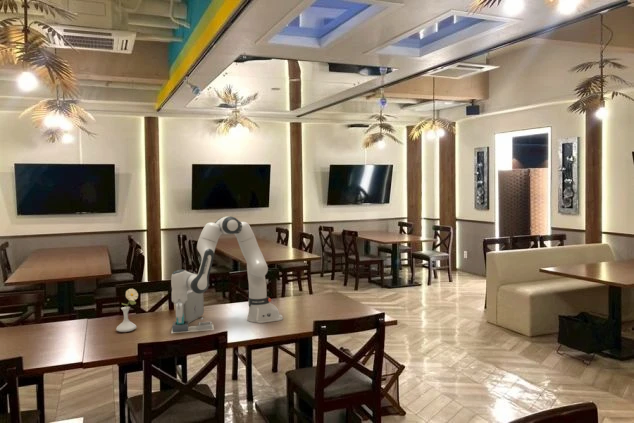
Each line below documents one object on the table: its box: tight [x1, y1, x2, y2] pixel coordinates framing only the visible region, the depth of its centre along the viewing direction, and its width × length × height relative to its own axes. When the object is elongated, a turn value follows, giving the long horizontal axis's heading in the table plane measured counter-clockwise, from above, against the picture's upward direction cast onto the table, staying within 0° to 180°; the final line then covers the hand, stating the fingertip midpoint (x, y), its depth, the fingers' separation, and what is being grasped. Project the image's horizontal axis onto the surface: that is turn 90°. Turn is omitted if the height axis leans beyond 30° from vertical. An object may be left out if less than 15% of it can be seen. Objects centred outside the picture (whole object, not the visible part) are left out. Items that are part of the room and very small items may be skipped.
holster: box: [197, 321, 213, 331], centre depth 290 cm, size 8×8×2 cm
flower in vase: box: [115, 288, 139, 333], centre depth 292 cm, size 13×11×25 cm
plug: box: [175, 313, 184, 325], centre depth 287 cm, size 4×4×8 cm
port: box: [171, 321, 189, 333], centre depth 287 cm, size 8×8×4 cm
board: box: [170, 324, 215, 334], centre depth 288 cm, size 24×11×2 cm, turn 103°
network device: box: [183, 290, 205, 324], centre depth 308 cm, size 26×9×20 cm, turn 168°
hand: (180, 321), depth 287 cm, fingers closed on plug, 4 cm apart
